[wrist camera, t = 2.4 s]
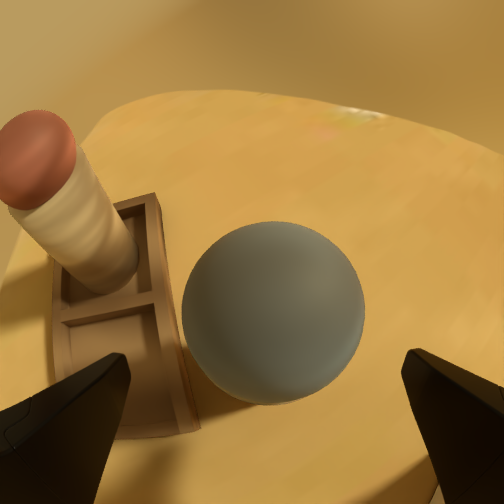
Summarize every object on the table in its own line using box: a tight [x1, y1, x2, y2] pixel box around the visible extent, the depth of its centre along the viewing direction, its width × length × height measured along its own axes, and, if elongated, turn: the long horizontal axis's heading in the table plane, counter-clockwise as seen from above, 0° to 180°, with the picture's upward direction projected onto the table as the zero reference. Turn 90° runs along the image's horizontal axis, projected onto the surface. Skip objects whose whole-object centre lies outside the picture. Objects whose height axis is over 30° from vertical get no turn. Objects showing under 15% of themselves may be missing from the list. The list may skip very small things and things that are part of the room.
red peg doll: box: [0, 110, 140, 295], centre depth 13 cm, size 5×5×13 cm
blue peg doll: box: [182, 221, 365, 405], centre depth 11 cm, size 5×5×13 cm
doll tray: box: [52, 192, 201, 440], centre depth 17 cm, size 16×9×2 cm, turn 15°
